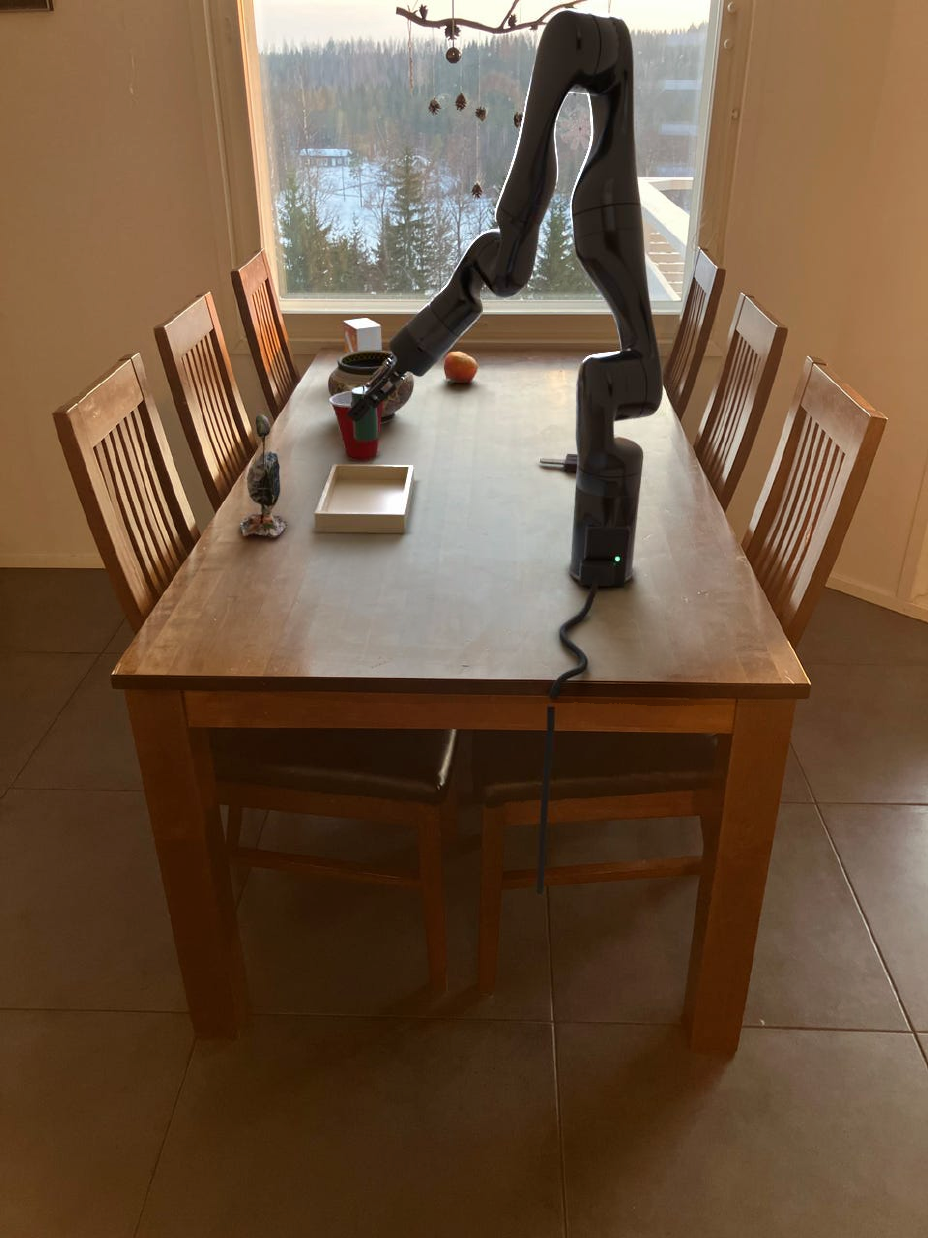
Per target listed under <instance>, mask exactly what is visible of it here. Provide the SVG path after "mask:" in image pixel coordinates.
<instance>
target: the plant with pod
mask: <svg viewBox="0 0 928 1238" xmlns="http://www.w3.org/2000/svg"><path fill="white" fill-rule="evenodd" d="M255 426H256V435H257V436H258V437H259V438H260V439H261V442H262V452H261V453H259V455H258V456H256V458H255V460H254V462H252V465H251V466H250V468H249V469H248V472H247V476H246V487H247V491H248V494H249V495H248V496H249V497H250V500H252V501H253V502H254V503H257V504H259V505H260V506H261V507H260V513H258V512H255V513H251V514H250V515H249V516H248V517H247V518H246V517H245V518H244V520H242V522H240V524H239V526H240V527H241V528H240V530H242V536H243V537H247V536H251V535H254V534H255V535H256V536H258V535H259V536H261V535H262V537H265V536H266V537H268V536H269V537H270V538H276V537H278V536H280V535H281V534H282V532H283V531H284V529H285V528H287V526H288V523H287V521H285V520H284V518H283V517H282V516H281V515H275V516H273V513H272V511H273V509H274V507H276V504H277V503H278V500H279V498H280V495H281V479H280V468H281V466H280V462H279V458H278V455H277V453H276V452H274V451H272V450H270V451H269V450H268V451H265V450H266V444H265V443H266V437H267V436H269V434H270V433H271V425H270V421H269V420H268V418H267V417H266V415H264V414H262V413H259V414H258V415H257V416H256V419H255ZM276 451H279V449H278V448H277V449H276Z"/></svg>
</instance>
